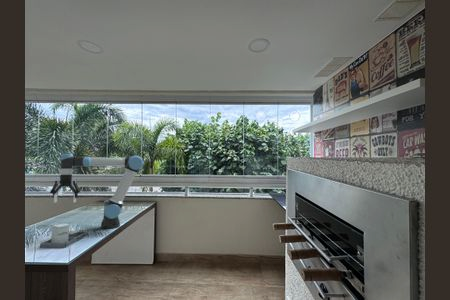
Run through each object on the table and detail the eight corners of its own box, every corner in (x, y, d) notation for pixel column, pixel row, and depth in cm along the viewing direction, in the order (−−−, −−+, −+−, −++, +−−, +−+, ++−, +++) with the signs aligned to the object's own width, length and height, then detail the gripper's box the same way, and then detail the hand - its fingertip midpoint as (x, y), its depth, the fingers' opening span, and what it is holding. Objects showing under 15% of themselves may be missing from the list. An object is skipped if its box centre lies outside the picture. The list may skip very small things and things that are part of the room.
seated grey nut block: (78, 237, 173) (78, 231, 173) (71, 239, 167) (71, 234, 168) (71, 236, 175) (71, 231, 175) (64, 239, 169) (64, 233, 169)
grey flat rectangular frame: (66, 234, 178) (66, 231, 178) (87, 234, 178) (87, 231, 178) (39, 247, 151) (40, 243, 151) (65, 247, 151) (65, 243, 152)
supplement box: (56, 246, 153) (57, 227, 154) (50, 244, 157) (52, 225, 157) (68, 243, 159) (69, 224, 160) (63, 241, 163) (64, 223, 164)
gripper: (85, 174, 183) (84, 201, 182) (51, 173, 180) (50, 201, 179) (81, 174, 175) (80, 203, 174) (45, 174, 172) (43, 203, 171)
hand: (64, 202), depth 177 cm, fingers open, 13 cm apart
